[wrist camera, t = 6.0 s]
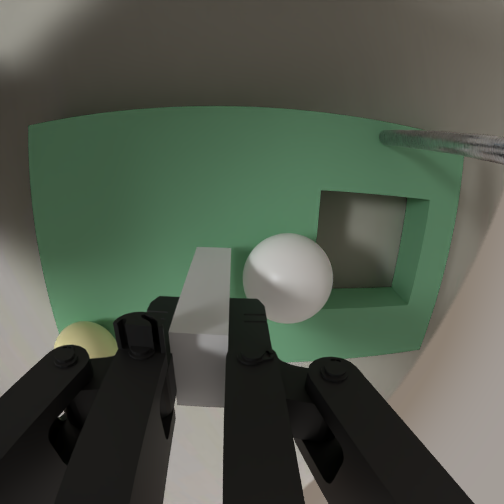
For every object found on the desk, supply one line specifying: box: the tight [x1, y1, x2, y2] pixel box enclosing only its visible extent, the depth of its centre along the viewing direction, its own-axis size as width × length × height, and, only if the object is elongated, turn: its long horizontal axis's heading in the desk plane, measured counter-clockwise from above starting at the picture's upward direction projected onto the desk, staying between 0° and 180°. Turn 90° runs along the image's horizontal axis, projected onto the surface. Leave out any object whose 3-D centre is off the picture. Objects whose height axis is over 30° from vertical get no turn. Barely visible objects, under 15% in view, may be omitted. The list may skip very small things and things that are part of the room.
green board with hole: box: [28, 106, 464, 362], centre depth 17 cm, size 24×14×2 cm, turn 88°
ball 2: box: [243, 233, 333, 324], centre depth 14 cm, size 4×4×4 cm
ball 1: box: [54, 321, 118, 359], centre depth 15 cm, size 4×4×4 cm
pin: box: [379, 130, 504, 164], centre depth 8 cm, size 1×4×11 cm, turn 178°
